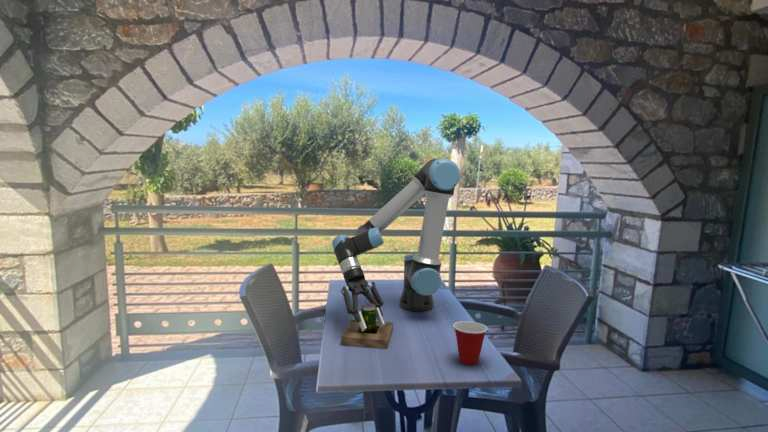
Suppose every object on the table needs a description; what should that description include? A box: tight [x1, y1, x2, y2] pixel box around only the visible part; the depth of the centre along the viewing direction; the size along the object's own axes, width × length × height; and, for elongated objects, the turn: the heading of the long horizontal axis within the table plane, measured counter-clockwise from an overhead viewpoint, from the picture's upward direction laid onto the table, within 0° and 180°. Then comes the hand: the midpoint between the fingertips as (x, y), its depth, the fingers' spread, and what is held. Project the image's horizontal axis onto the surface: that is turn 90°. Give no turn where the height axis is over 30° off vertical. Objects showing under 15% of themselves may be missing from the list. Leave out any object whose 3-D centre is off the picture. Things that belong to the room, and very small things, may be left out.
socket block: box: [340, 319, 394, 350], centre depth 151 cm, size 16×16×3 cm
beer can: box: [360, 302, 377, 334], centre depth 150 cm, size 5×5×12 cm
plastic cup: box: [453, 320, 488, 366], centre depth 133 cm, size 11×11×12 cm
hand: (373, 327), depth 147 cm, fingers open, 7 cm apart
